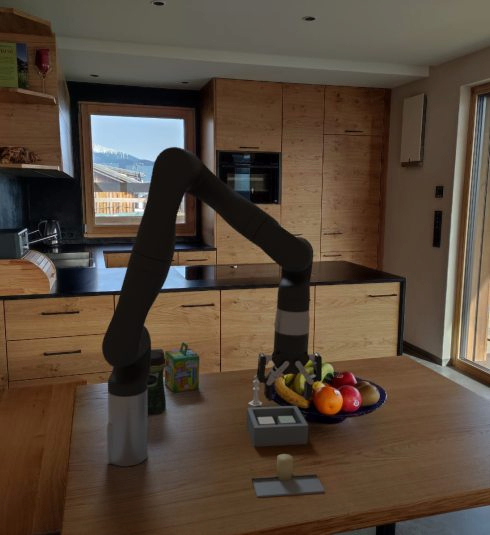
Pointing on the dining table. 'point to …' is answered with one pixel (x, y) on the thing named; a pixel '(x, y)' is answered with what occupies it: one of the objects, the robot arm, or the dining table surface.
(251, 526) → the dining table surface
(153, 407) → the coffee jar
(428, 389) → the dining table surface
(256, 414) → the box
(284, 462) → the lid
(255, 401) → the chess piece
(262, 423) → the cream block
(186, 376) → the chalk box
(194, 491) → the dining table surface
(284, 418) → the sage block
